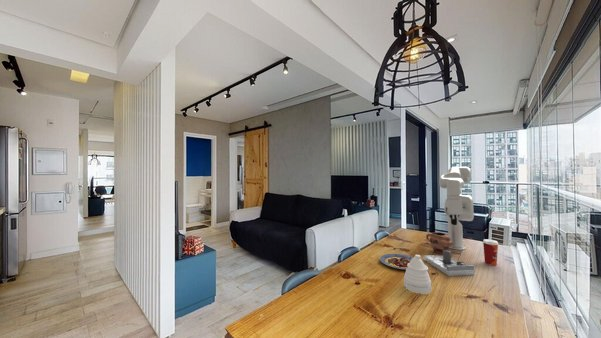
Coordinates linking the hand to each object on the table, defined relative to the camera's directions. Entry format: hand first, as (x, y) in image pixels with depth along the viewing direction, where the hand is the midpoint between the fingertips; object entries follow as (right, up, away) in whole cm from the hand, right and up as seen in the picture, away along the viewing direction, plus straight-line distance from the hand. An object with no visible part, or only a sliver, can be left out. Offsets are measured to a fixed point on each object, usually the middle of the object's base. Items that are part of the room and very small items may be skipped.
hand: (453, 224), depth 154 cm
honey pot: (-41, -26, -33) cm, 59 cm away
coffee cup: (+23, -25, -3) cm, 34 cm away
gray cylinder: (-9, -26, -7) cm, 28 cm away
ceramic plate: (-37, -26, -1) cm, 45 cm away
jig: (-9, -25, -7) cm, 28 cm away
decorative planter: (+2, -26, +20) cm, 32 cm away
